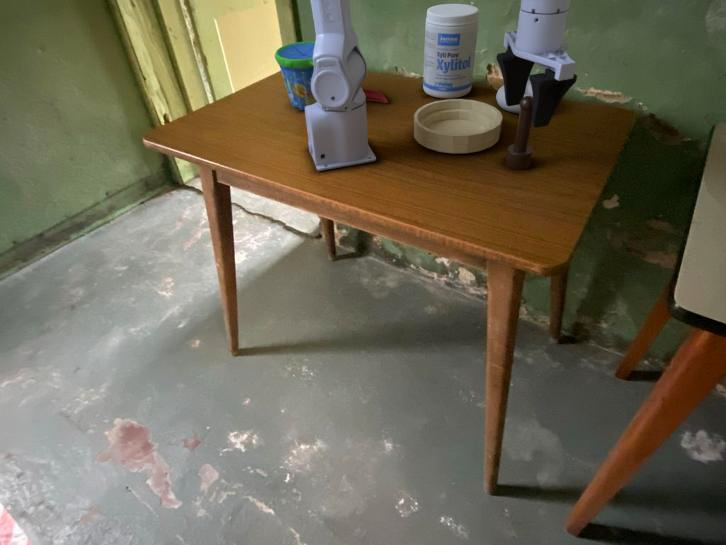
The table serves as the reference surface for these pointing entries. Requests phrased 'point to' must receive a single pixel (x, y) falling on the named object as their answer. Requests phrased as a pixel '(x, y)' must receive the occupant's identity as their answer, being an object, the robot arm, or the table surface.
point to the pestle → (521, 138)
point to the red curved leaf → (374, 96)
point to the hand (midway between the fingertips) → (526, 114)
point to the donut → (502, 102)
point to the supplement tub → (450, 50)
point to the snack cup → (297, 72)
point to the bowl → (457, 126)
